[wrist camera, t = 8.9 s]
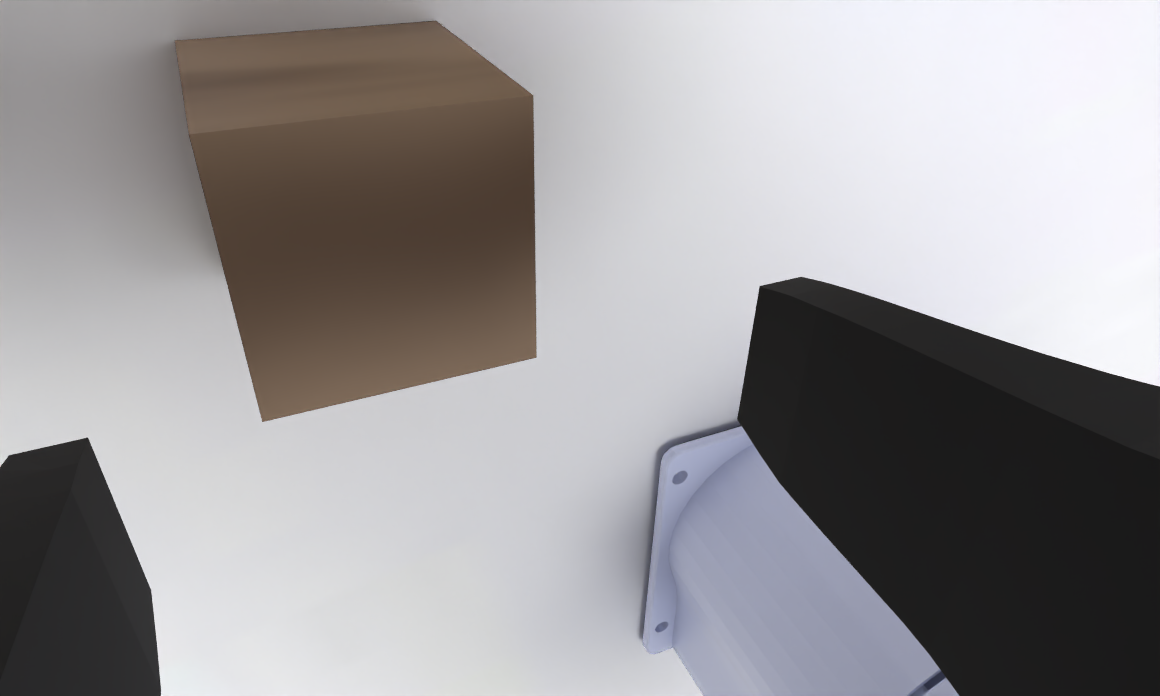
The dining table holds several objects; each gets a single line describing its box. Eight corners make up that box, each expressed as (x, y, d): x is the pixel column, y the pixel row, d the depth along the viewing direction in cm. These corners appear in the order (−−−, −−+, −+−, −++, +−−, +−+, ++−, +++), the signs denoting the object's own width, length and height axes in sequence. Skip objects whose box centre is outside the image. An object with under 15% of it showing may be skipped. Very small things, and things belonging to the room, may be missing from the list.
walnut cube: (451, 237, 18) (536, 357, 14) (232, 275, 16) (262, 421, 12) (434, 20, 15) (533, 95, 11) (175, 39, 14) (189, 134, 10)
